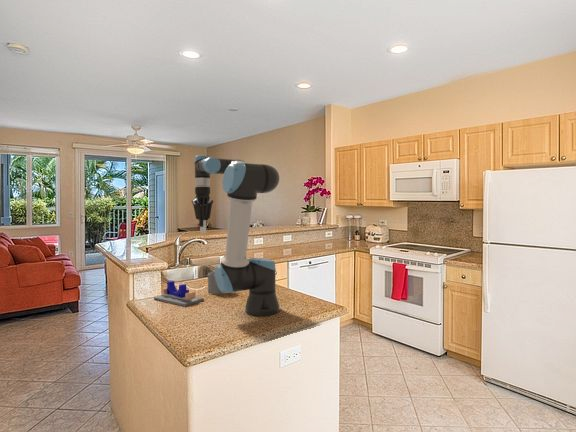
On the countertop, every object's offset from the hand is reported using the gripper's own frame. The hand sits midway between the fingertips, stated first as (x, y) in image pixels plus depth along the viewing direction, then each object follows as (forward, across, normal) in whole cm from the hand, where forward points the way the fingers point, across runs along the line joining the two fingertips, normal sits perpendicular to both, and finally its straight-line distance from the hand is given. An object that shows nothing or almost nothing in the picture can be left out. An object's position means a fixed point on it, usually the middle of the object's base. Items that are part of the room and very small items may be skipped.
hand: (203, 232), depth 180 cm
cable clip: (+30, +12, -6) cm, 33 cm away
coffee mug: (+33, -11, -1) cm, 34 cm away
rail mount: (+32, +12, -5) cm, 35 cm away
